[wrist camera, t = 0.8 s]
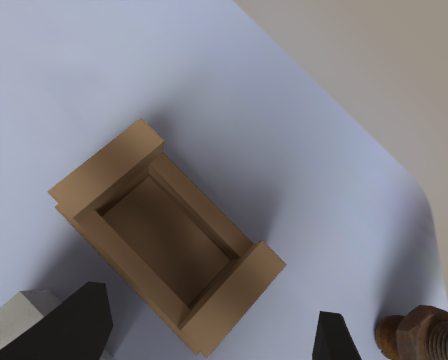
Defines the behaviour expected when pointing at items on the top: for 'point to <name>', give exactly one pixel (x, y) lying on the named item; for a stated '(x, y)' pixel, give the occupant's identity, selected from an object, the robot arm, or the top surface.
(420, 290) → the top surface
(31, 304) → the grey concrete block
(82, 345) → the robot arm
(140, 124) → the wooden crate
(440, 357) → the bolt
